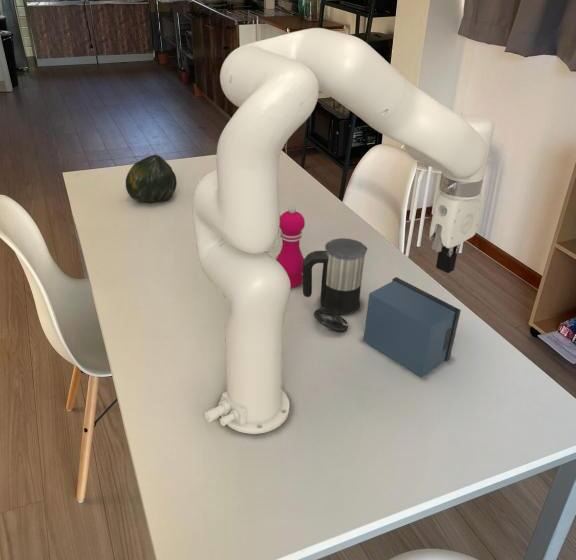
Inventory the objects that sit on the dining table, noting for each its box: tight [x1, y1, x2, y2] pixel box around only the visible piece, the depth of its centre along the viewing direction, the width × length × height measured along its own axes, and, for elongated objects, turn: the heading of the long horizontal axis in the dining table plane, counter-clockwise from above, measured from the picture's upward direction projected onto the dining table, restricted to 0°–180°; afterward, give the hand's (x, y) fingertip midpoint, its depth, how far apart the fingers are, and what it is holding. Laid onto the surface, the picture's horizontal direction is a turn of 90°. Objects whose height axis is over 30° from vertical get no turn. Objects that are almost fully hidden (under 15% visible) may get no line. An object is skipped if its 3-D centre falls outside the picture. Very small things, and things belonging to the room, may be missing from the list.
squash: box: [125, 154, 178, 203], centre depth 177 cm, size 14×15×15 cm
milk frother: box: [302, 237, 368, 333], centre depth 126 cm, size 14×16×15 cm
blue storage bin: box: [363, 276, 462, 378], centre depth 116 cm, size 9×16×12 cm, turn 42°
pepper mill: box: [275, 205, 306, 289], centre depth 136 cm, size 7×7×20 cm
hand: (444, 269), depth 117 cm, fingers closed
